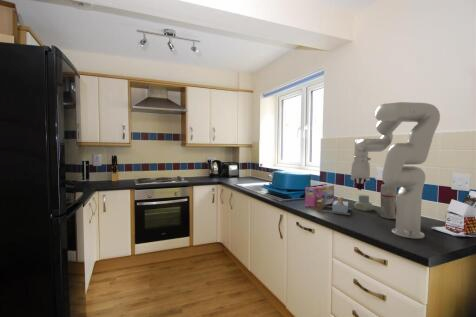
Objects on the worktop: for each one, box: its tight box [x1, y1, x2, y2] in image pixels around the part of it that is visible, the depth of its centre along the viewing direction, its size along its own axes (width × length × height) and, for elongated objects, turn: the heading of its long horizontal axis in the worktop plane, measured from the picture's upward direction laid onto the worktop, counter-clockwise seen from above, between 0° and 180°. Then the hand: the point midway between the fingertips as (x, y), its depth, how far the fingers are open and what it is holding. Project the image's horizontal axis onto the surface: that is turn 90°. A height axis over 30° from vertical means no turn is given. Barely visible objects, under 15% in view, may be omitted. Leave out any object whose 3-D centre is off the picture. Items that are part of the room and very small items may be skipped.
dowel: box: [337, 196, 344, 205], centre depth 153 cm, size 3×3×9 cm
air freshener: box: [353, 194, 374, 212], centre depth 162 cm, size 11×8×10 cm
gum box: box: [304, 183, 335, 208], centre depth 176 cm, size 24×8×14 cm, turn 127°
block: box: [331, 200, 349, 213], centre depth 156 cm, size 12×8×5 cm, turn 153°
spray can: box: [380, 183, 398, 220], centre depth 146 cm, size 8×8×20 cm
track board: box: [321, 205, 353, 216], centre depth 158 cm, size 15×19×2 cm
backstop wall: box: [315, 197, 325, 213], centre depth 161 cm, size 15×2×6 cm, turn 153°
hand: (359, 189), depth 154 cm, fingers closed
